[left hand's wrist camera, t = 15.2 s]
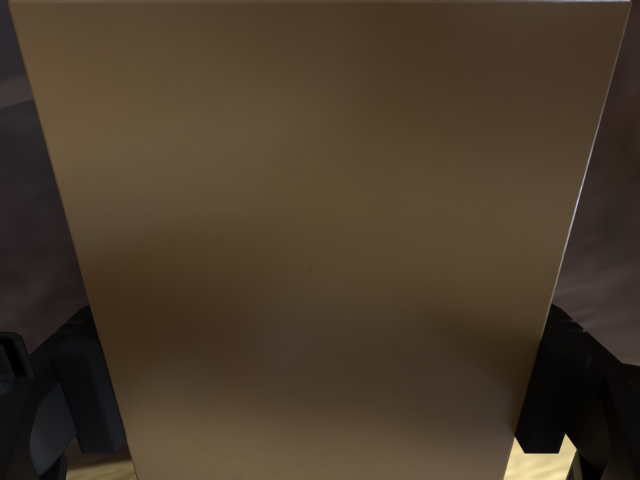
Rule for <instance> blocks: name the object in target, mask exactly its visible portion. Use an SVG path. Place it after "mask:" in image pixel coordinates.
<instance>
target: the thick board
mask: <svg viewBox="0 0 640 480" xmlns="http://www.w3.org/2000/svg"><path fill="white" fill-rule="evenodd" d="M631 7H632V0H9V1H8V8H9V12H10V15H11V19H12V23H13V26H14V30H15V33H16V37H17V41H18V44H19V48H20V52H21V55H22V59H23V63H24V66H25V70H26V74H27V77H28V81H29V85H30V88H31V92H32V96H33V99H34V103H35V107H36V110H37V114H38V118H39V121H40V125H41V129H42V132H43V136H44V140H45V143H46V147H47V151H48V154H49V158H50V162H51V165H52V169H53V173H54V176H55V180H56V184H57V187H58V191H59V195H60V198H61V202H62V206H63V209H64V213H65V217H66V220H67V224H68V228H69V231H70V235H71V238H72V242H73V246H74V249H75V253H76V257H77V260H78V264H79V268H80V271H81V275H82V279H83V282H84V286H85V290H86V293H87V297H88V301H89V304H90V308H91V312H92V315H93V319H94V323H95V326H96V330H97V334H98V337H99V341H100V345H101V348H102V352H103V356H104V359H105V363H106V367H107V370H108V374H109V378H110V381H111V385H112V389H113V392H114V396H115V400H116V403H117V407H118V411H119V414H120V418H121V422H122V425H123V429H124V433H125V436H126V440H127V443H128V447H129V451H130V454H131V458H132V462H133V465H134V469H135V473H136V476H137V480H503V479H504V475H505V471H506V468H507V464H508V460H509V457H510V453H511V449H512V446H513V442H514V438H515V434H516V431H517V427H518V423H519V420H520V416H521V412H522V409H523V405H524V401H525V398H526V394H527V390H528V387H529V383H530V379H531V375H532V372H533V368H534V364H535V361H536V357H537V353H538V350H539V346H540V342H541V339H542V335H543V331H544V328H545V324H546V320H547V316H548V313H549V309H550V305H551V302H552V298H553V294H554V291H555V287H556V283H557V280H558V276H559V272H560V269H561V265H562V261H563V257H564V254H565V250H566V246H567V243H568V239H569V235H570V232H571V228H572V224H573V221H574V217H575V213H576V210H577V206H578V202H579V198H580V195H581V191H582V187H583V184H584V180H585V176H586V173H587V169H588V165H589V162H590V158H591V154H592V151H593V147H594V143H595V139H596V136H597V132H598V128H599V125H600V121H601V117H602V114H603V110H604V106H605V103H606V99H607V95H608V92H609V88H610V84H611V80H612V77H613V73H614V69H615V66H616V62H617V58H618V55H619V51H620V47H621V44H622V40H623V36H624V33H625V29H626V25H627V21H628V18H629V14H630V10H631Z"/></svg>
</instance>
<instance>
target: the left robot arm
mask: <svg viewBox="0 0 640 480" xmlns="http://www.w3.org/2000/svg"><path fill="white" fill-rule="evenodd" d="M565 433H566V435H567V436H568V438H569V439H570V440H571V442H572V443H573V445H574V446H575V447H576V449H577V450H576V453H575V456H574V458H573V461H572V464H571V466H570V469H569V472H568V475H567V477H566V480H640V366H636V365H630V364H624V363H623V364H622V363H621V362H620V361H619V360H618V359H617V358H616V357H615V356H614V355H612V354H611V353H610V352H609V351H608V350H607V349H606V348H605V347H603V346H602V345H601V344H600V343H599V342H598V341H597V340H596V339H594V338H593V337H592V336H591V335H590V334H589V333H588V332H585V330H584V329H583V328H582V327H581V326H580V325H579V324H578V323H577V322H574V320H573V319H572V318H571V317H570V316H569V315H568V314H566V313H565V312H564V311H563V310H562V309H561V308H559V307H557V306H555V305H553V304H551V305H550V309H549V313H548V316H547V320H546V324H545V328H544V331H543V335H542V339H541V342H540V346H539V350H538V353H537V357H536V361H535V364H534V368H533V372H532V375H531V379H530V383H529V387H528V390H527V394H526V398H525V401H524V405H523V409H522V412H521V416H520V420H519V423H518V427H517V431H516V434H515V437H516V439H517V441H518V443H519V445H520V446H521V448H522V450H523V452H524V453H525V454H558V453H559V450H560V448H561V445H562V442H563V439H564V436H565ZM75 435H76V437H77V440H78V443H79V446H80V449H81V452H82V453H116V452H117V450H118V449H119V447H120V445H121V443H122V442H123V440H124V438H125V433H124V429H123V425H122V422H121V418H120V414H119V411H118V407H117V403H116V400H115V396H114V392H113V389H112V385H111V381H110V378H109V374H108V370H107V367H106V363H105V359H104V356H103V352H102V348H101V345H100V341H99V337H98V334H97V330H96V326H95V323H94V319H93V315H92V312H91V308H90V305H88V306H86V307H84V308H82V309H81V310H79V311H78V312H77V313H76V314H75V315H74V316H72V317H71V318H70V319H69V320H68V321H67V324H64V325H62V326H61V327H60V328H59V329H58V330H57V331H56V334H52V335H51V336H50V337H49V338H48V339H47V340H46V341H45V342H44V343H42V344H41V345H40V346H39V347H38V348H37V349H36V350H35V351H34V352H32V353H31V354H30V355H28V352H27V349H26V347H25V344H24V341H23V339H22V336H20V335H19V334H17V333H15V332H0V480H66V475H67V467H68V465H67V459H66V456H65V453H64V450H65V449H66V447H67V446H68V444H69V443H70V442H71V440H72V439H73V437H74V436H75Z"/></svg>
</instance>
